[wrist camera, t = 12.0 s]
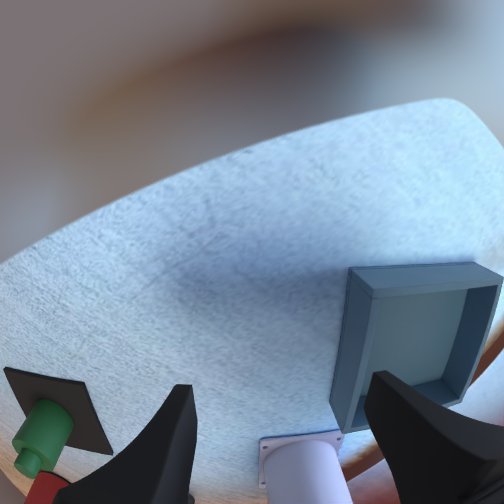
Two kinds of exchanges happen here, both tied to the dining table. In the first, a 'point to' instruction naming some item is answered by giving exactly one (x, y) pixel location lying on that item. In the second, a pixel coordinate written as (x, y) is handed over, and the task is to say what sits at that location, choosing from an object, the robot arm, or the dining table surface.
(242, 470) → the dining table surface
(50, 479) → the beer can
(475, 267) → the case
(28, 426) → the bottle
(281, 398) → the dining table surface
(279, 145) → the dining table surface
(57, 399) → the mat
